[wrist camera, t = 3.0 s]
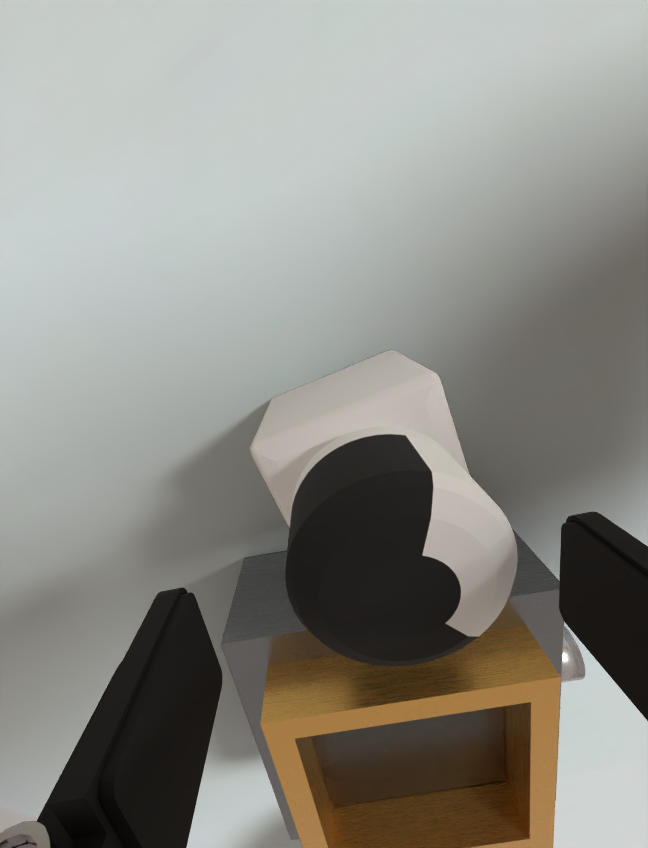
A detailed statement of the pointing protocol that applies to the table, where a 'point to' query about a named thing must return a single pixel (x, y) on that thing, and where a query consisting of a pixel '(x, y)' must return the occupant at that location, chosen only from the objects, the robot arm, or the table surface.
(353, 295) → the table surface
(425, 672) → the drawer box
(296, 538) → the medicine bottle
